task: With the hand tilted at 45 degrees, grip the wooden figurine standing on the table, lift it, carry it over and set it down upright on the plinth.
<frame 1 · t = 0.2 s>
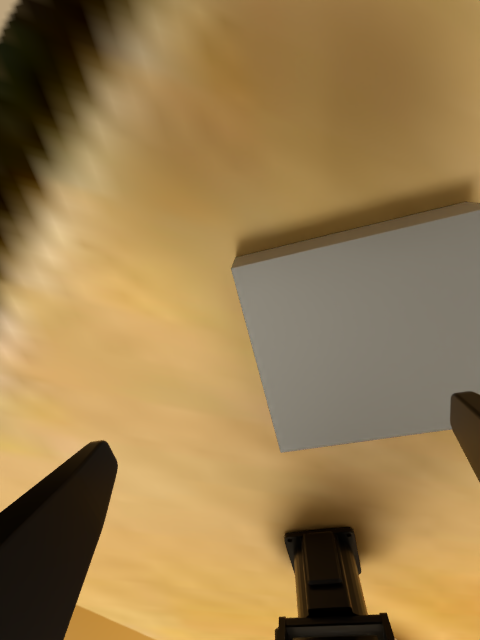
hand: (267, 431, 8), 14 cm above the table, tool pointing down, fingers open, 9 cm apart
plinth: (357, 331, 23), on the table
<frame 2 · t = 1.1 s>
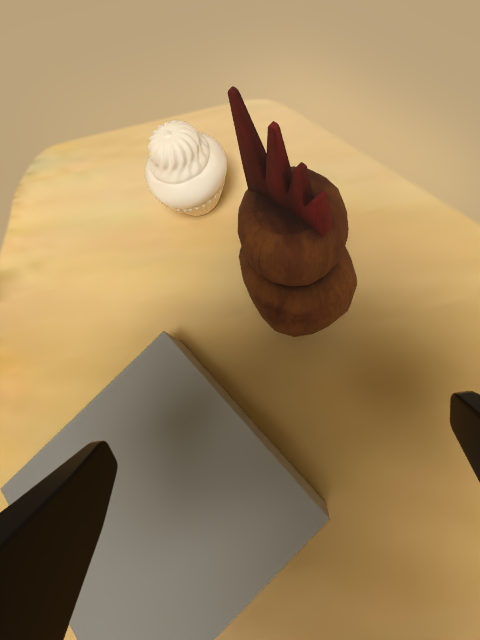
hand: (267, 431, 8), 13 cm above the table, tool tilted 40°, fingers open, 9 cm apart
muffin: (201, 200, 27), on the table
wooden figurine: (298, 301, 23), on the table
plinth: (168, 490, 21), on the table
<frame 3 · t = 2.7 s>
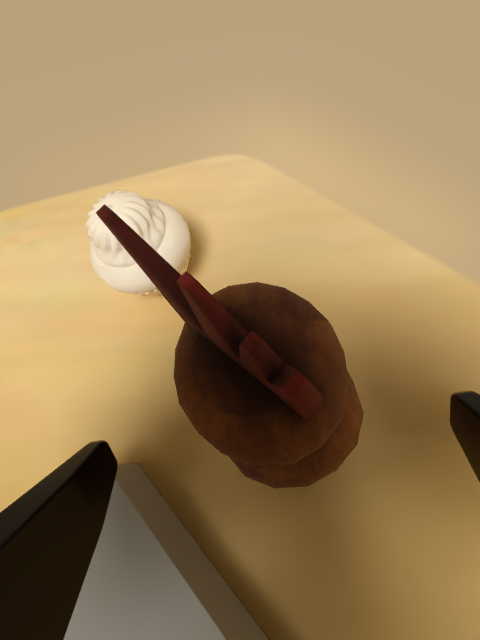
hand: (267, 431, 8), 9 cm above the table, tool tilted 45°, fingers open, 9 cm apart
muffin: (166, 274, 23), on the table
wooden figurine: (286, 406, 18), on the table
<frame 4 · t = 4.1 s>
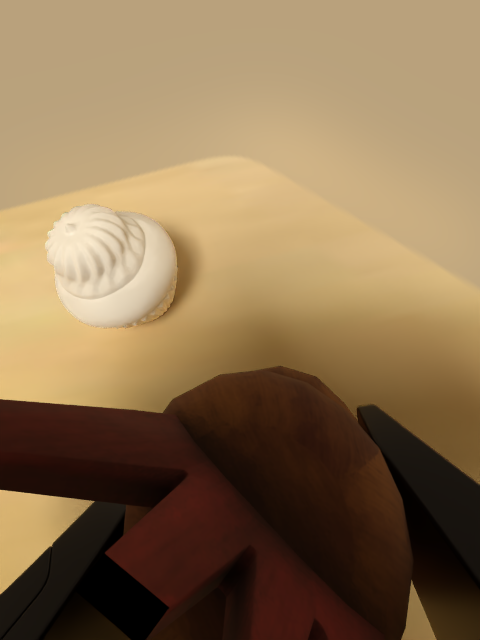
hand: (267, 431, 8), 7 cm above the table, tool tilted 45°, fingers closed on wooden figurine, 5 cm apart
muffin: (150, 297, 19), on the table
wooden figurine: (293, 468, 15), on the table, touching gripper
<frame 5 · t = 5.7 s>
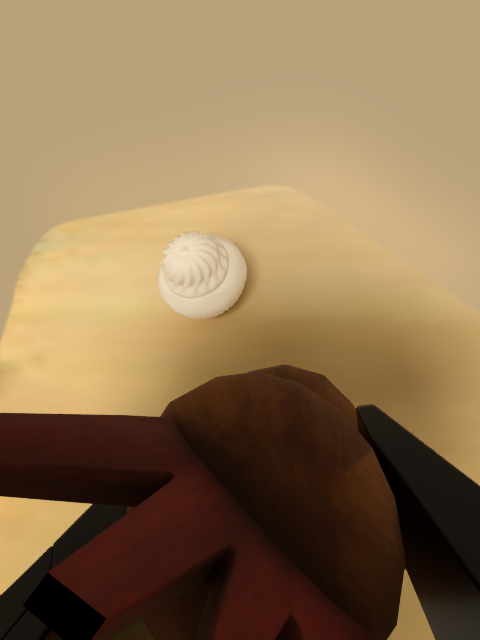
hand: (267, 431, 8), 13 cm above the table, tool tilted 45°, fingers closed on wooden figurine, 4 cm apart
muffin: (216, 296, 25), on the table
wooden figurine: (305, 464, 15), point 6 cm above the table, touching gripper
when the fingers open (11 cm above the table, at t = 7.4 s): wooden figurine drops 1 cm, resting on plinth.
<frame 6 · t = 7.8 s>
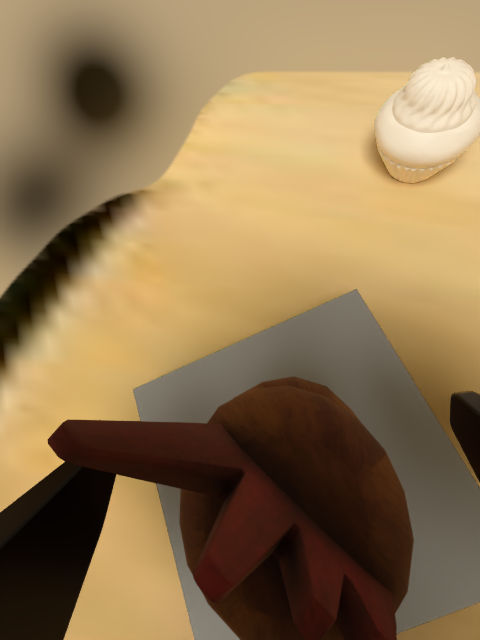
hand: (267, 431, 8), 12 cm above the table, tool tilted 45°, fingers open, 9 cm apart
muffin: (410, 168, 24), on the table
wooden figurine: (302, 467, 16), point 3 cm above the table, touching plinth
plinth: (297, 462, 19), on the table
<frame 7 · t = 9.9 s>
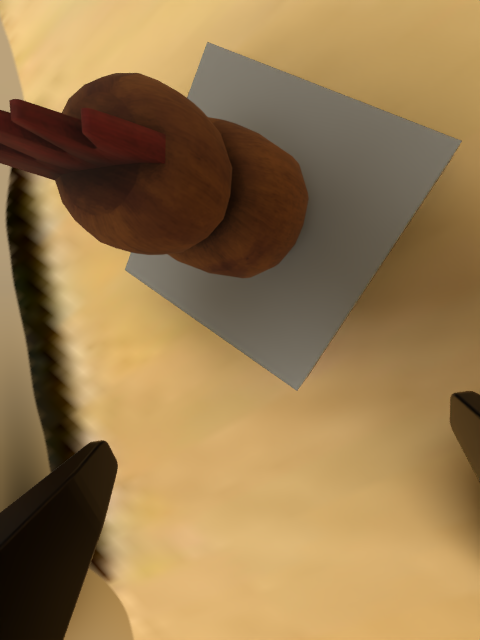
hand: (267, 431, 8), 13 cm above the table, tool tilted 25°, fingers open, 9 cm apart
wooden figurine: (260, 217, 18), point 3 cm above the table, touching plinth
plinth: (270, 226, 21), on the table
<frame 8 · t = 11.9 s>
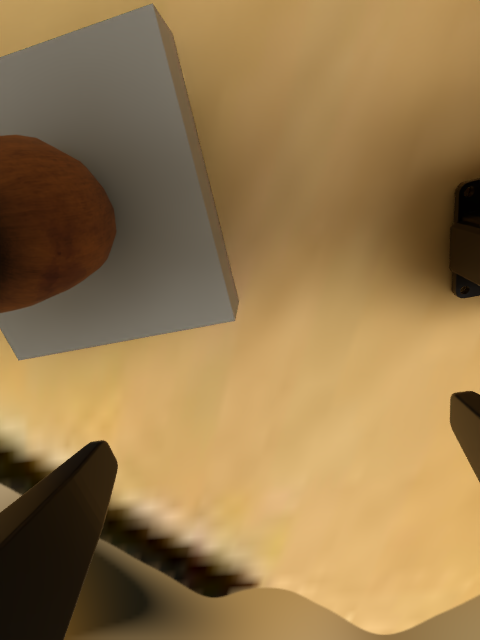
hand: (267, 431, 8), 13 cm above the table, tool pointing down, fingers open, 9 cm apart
wooden figurine: (73, 215, 17), point 3 cm above the table, touching plinth
plinth: (97, 215, 19), on the table
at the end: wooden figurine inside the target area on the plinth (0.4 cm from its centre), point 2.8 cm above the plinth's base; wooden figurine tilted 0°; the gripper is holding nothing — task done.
